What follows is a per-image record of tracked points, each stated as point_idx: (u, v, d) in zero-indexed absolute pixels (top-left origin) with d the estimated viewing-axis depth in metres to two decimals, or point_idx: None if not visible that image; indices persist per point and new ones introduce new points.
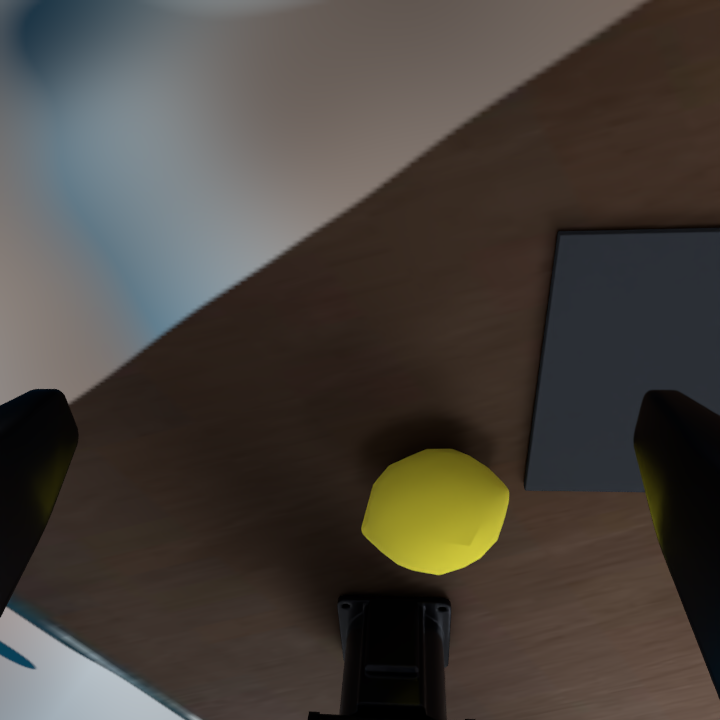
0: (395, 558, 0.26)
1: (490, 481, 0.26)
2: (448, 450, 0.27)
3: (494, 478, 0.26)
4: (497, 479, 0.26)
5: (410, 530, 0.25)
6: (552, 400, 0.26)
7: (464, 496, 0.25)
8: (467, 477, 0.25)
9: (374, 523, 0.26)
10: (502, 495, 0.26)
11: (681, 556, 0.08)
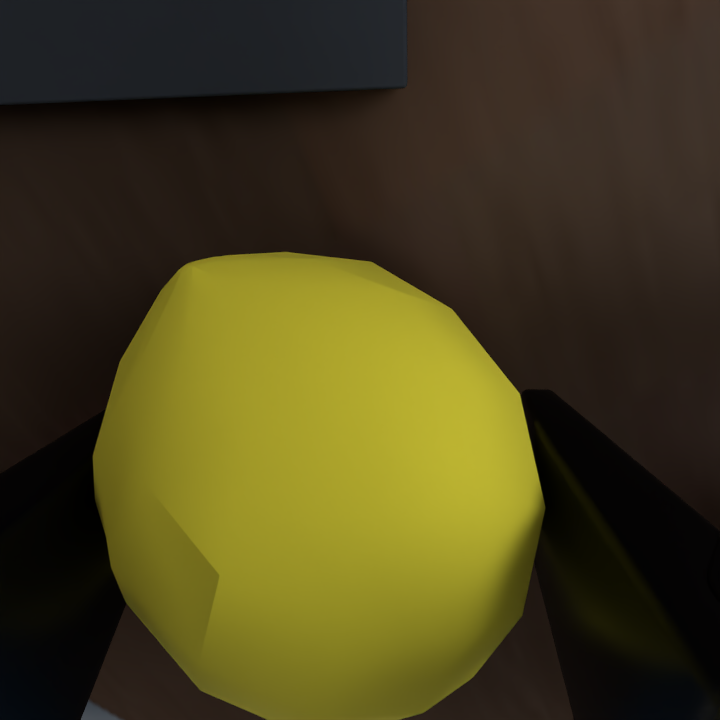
0: None
1: None
2: None
3: None
4: None
5: (209, 693, 0.07)
6: None
7: (100, 491, 0.06)
8: None
9: None
10: (160, 314, 0.06)
11: (541, 553, 0.08)
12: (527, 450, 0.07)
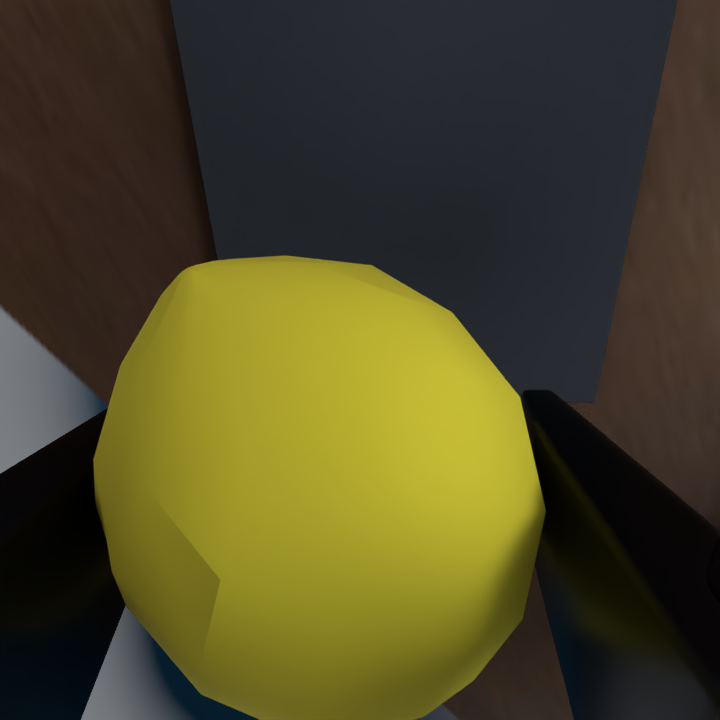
0: None
1: None
2: None
3: None
4: None
5: (210, 697, 0.07)
6: None
7: (100, 495, 0.06)
8: None
9: None
10: (161, 318, 0.06)
11: (541, 553, 0.08)
12: (527, 453, 0.07)
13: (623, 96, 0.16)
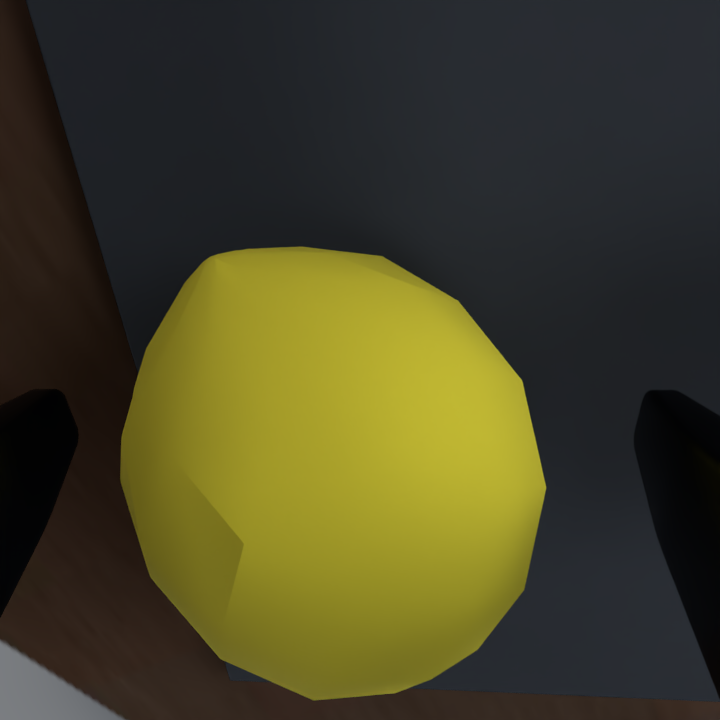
0: (393, 690, 0.07)
1: None
2: None
3: None
4: None
5: (228, 662, 0.07)
6: (509, 679, 0.16)
7: (128, 469, 0.07)
8: None
9: None
10: (186, 304, 0.07)
11: (681, 556, 0.08)
12: (529, 433, 0.07)
13: None
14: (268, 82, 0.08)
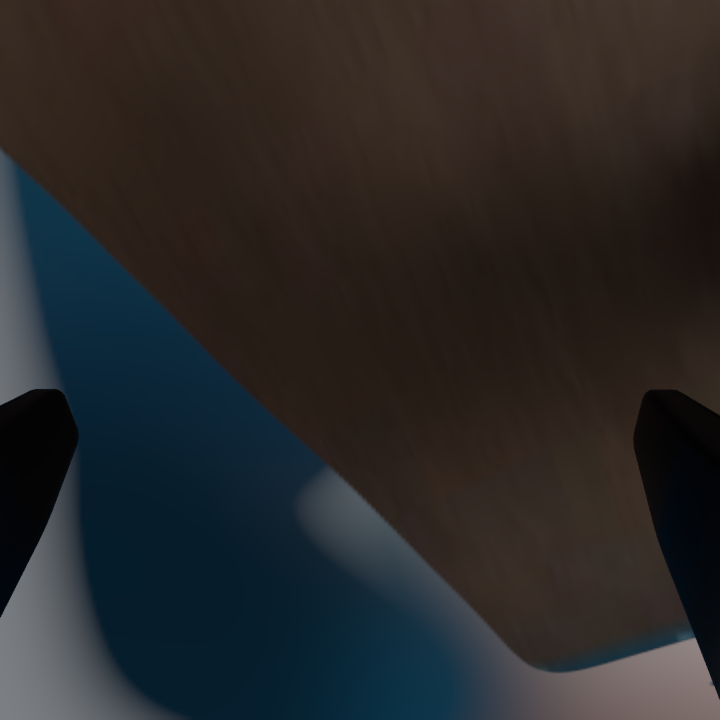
0: None
1: None
2: None
3: None
4: None
5: None
6: None
7: None
8: None
9: None
10: None
11: (681, 556, 0.08)
12: None
13: None
14: None
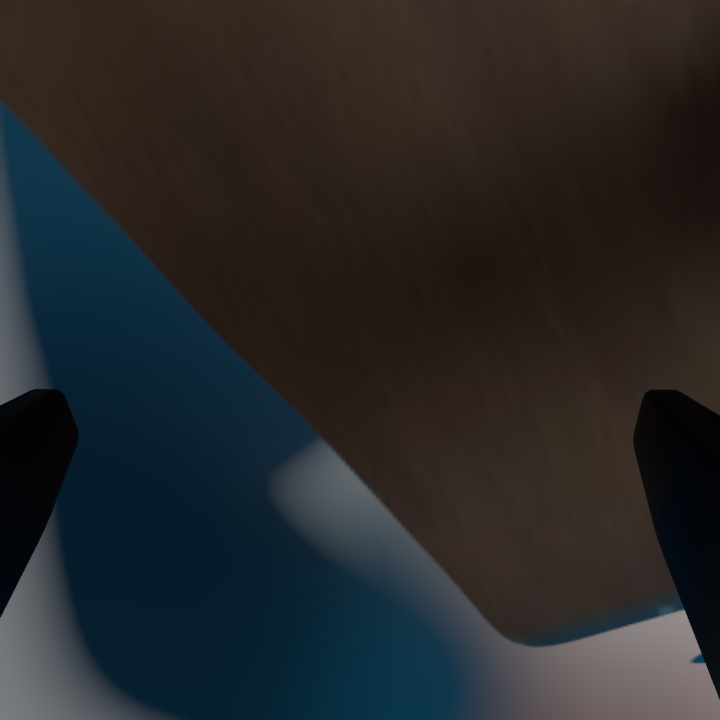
0: None
1: None
2: None
3: None
4: None
5: None
6: None
7: None
8: None
9: None
10: None
11: (681, 556, 0.08)
12: None
13: None
14: None
